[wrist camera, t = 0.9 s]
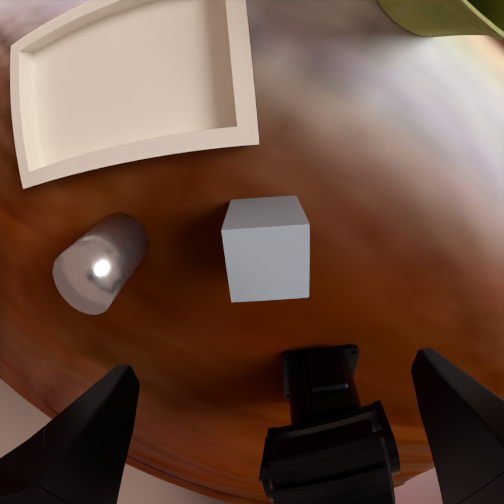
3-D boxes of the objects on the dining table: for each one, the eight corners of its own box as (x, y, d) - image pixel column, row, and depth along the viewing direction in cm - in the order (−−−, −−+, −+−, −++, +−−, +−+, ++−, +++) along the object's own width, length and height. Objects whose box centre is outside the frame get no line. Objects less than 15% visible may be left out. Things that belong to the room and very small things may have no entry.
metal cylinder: (153, 263, 20) (121, 315, 14) (107, 265, 20) (68, 313, 15) (141, 209, 18) (98, 249, 13) (92, 216, 18) (44, 254, 13)
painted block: (297, 253, 19) (308, 297, 15) (237, 258, 19) (231, 302, 15) (296, 195, 17) (309, 224, 13) (230, 199, 18) (221, 230, 13)
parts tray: (259, 140, 16) (259, 144, 14) (43, 179, 17) (23, 189, 15) (243, -21, 11) (241, -39, 9) (31, 47, 12) (11, 45, 10)
